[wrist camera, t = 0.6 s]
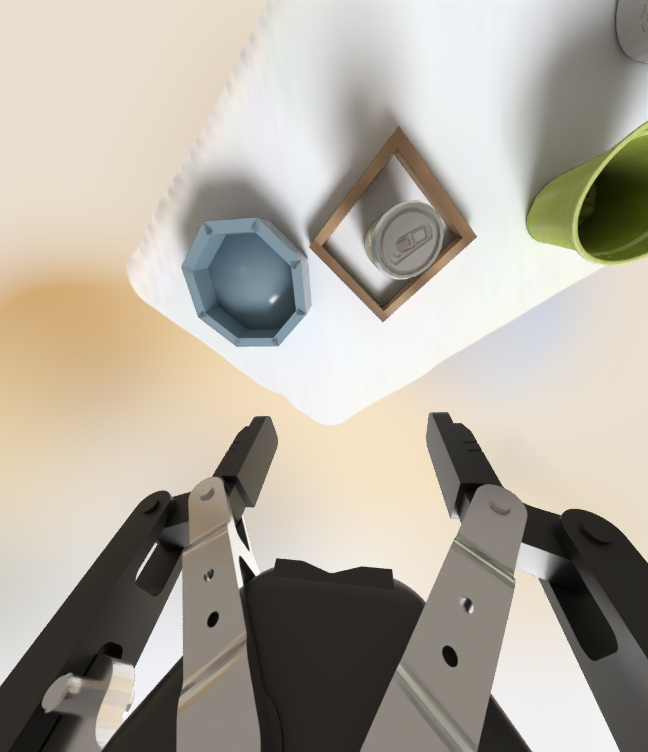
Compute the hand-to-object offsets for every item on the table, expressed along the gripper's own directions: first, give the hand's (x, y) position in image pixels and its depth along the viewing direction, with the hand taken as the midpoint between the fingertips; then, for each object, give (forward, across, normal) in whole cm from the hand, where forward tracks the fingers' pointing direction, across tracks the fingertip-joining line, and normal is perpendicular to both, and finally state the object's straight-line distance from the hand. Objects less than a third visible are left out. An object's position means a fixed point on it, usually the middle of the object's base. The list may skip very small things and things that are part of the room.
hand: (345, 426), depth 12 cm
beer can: (+24, -4, -7) cm, 25 cm away
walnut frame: (+24, -5, -7) cm, 25 cm away
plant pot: (+24, -22, -8) cm, 34 cm away
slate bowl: (+23, +13, -4) cm, 27 cm away
